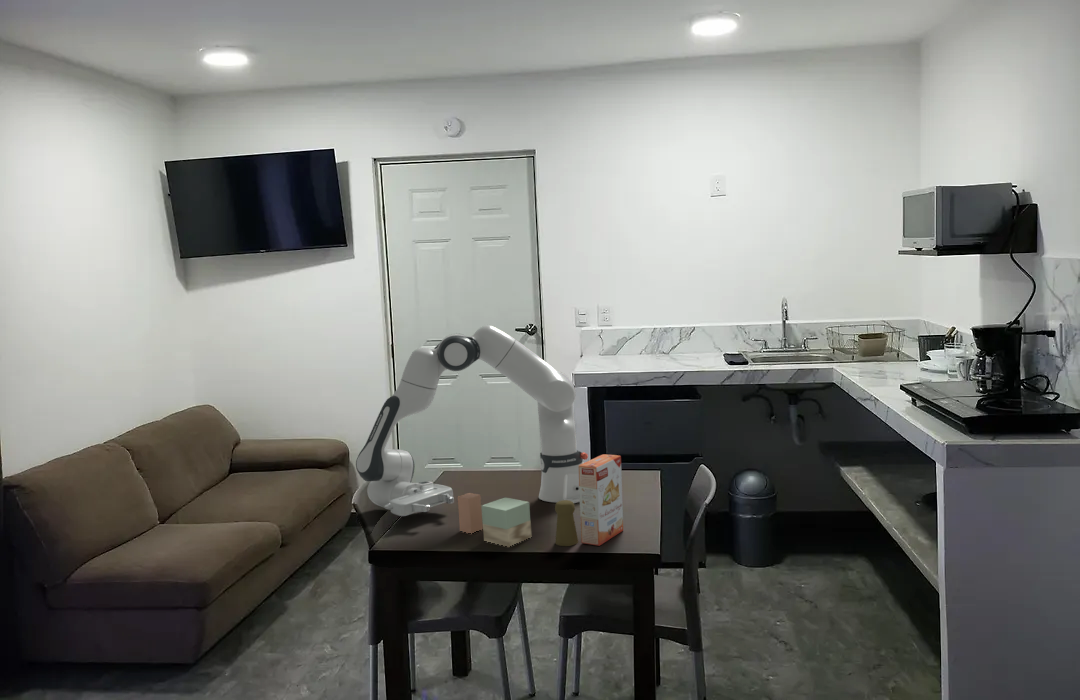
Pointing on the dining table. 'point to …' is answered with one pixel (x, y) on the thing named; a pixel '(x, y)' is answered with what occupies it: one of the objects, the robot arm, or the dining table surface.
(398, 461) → the robot arm
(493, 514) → the green block
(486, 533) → the beech block
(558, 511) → the cork
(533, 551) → the dining table surface
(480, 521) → the rust block
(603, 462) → the cracker box
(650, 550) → the dining table surface
